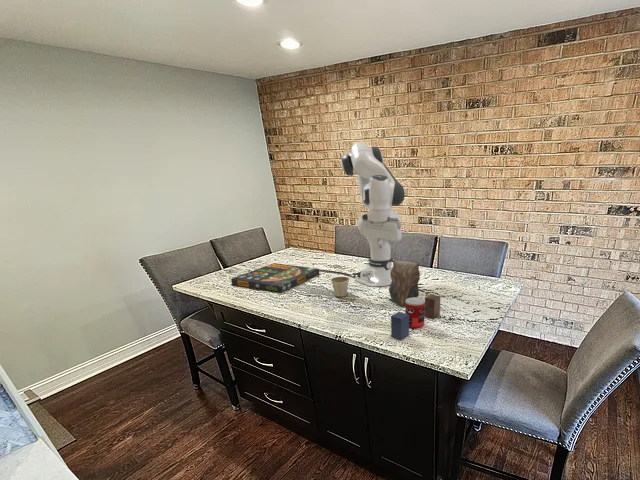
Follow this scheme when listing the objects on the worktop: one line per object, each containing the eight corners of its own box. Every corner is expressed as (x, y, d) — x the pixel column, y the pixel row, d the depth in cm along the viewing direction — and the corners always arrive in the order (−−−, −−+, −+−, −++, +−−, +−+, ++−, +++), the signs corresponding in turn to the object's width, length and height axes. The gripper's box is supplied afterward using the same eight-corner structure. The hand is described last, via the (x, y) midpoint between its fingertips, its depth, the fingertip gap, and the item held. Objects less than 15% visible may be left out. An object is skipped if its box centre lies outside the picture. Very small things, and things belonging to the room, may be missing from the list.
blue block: (391, 336, 133) (390, 315, 130) (398, 331, 137) (398, 311, 133) (401, 340, 130) (401, 319, 127) (408, 335, 134) (409, 314, 131)
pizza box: (232, 284, 192) (230, 278, 191) (274, 268, 222) (273, 263, 221) (281, 292, 180) (280, 286, 178) (319, 274, 210) (318, 268, 208)
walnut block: (424, 316, 151) (424, 297, 147) (430, 312, 155) (430, 294, 151) (433, 318, 148) (434, 299, 145) (439, 315, 152) (440, 296, 148)
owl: (387, 299, 170) (387, 261, 162) (408, 294, 176) (409, 257, 168) (401, 307, 160) (401, 267, 152) (422, 302, 166) (423, 263, 158)
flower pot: (353, 292, 179) (352, 277, 175) (345, 299, 170) (343, 283, 167) (337, 291, 181) (336, 275, 178) (328, 297, 173) (327, 281, 170)
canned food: (404, 321, 146) (404, 297, 142) (422, 320, 147) (422, 296, 143) (406, 329, 139) (406, 304, 135) (425, 328, 140) (426, 303, 136)
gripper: (404, 217, 138) (404, 250, 143) (367, 213, 150) (369, 244, 155) (395, 219, 133) (395, 253, 139) (357, 215, 145) (359, 247, 150)
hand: (381, 248), depth 147 cm, fingers closed
